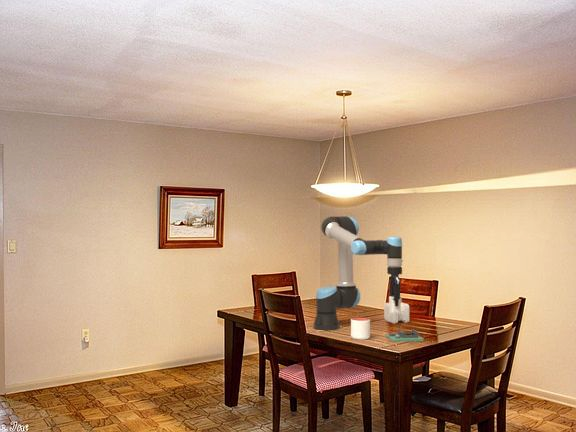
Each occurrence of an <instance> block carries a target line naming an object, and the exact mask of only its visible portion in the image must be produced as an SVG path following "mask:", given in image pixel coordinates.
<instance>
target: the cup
mask: <svg viewBox="0 0 576 432" xmlns="http://www.w3.org/2000/svg"><path fill="white" fill-rule="evenodd" d="M350 337H351V338H352V339H353V340H358V341H360V340H361V341H362V340H363V341H364V340H369V339H370V338H371V319H370V318H367V317H353V318H350Z"/></svg>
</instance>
